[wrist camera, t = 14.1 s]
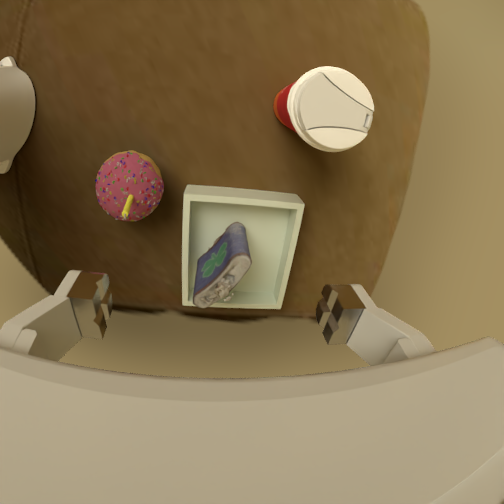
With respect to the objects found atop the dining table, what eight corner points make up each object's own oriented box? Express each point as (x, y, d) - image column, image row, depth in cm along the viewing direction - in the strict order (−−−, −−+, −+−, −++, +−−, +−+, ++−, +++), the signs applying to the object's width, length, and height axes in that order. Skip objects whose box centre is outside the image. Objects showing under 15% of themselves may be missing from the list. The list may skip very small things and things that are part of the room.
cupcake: (179, 159, 33) (161, 185, 23) (156, 216, 37) (134, 262, 26) (120, 137, 31) (79, 153, 20) (101, 195, 34) (62, 232, 24)
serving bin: (184, 288, 43) (182, 305, 40) (187, 184, 35) (183, 193, 32) (276, 292, 45) (280, 309, 42) (296, 194, 37) (304, 204, 34)
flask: (235, 217, 37) (242, 259, 28) (251, 230, 38) (263, 275, 29) (192, 263, 40) (186, 313, 31) (208, 274, 41) (207, 325, 32)
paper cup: (329, 89, 31) (388, 86, 18) (314, 142, 34) (365, 165, 22) (271, 70, 29) (304, 50, 17) (256, 126, 32) (280, 139, 20)
